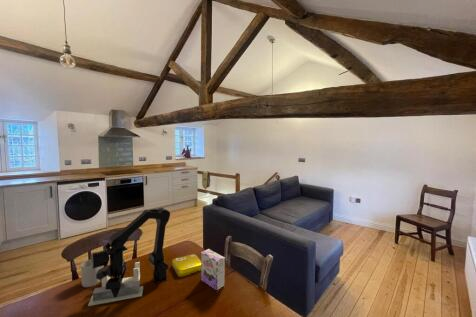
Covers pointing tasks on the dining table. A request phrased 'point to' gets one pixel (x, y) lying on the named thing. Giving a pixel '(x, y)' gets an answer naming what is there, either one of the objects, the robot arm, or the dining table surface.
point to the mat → (116, 298)
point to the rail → (124, 290)
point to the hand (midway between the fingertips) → (117, 291)
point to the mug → (89, 274)
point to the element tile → (186, 265)
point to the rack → (129, 279)
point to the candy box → (212, 269)
